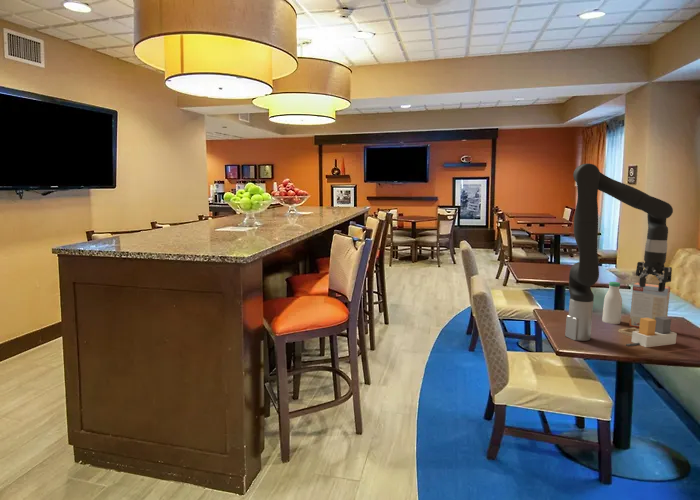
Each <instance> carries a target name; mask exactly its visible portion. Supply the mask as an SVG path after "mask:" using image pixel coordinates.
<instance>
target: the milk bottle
mask: <svg viewBox="0 0 700 500" xmlns="http://www.w3.org/2000/svg"><path fill="white" fill-rule="evenodd" d="M608 287H609V288H608V290H607V292H606V293H605V296H604V297H603V298H604V299H603V306H602V307H603V308H602V318H601V320H602V322H603V323H606V324H610V325H618V324H620V323H621V320H622V319H621V317H622V309H623V307H622V306H623V298H622V295H621V291H620V288H621V282H617V281H610V282H608Z"/></svg>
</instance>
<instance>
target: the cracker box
mask: <svg viewBox="0 0 700 500" xmlns="http://www.w3.org/2000/svg"><path fill="white" fill-rule="evenodd" d="M639 283H640V282H634V283H633V284H632V292H631V293H632V294H631V301H630V304H631V305H630V315H629V325H628V326H629V327H632V328H637V329H639V326H640V318H651V319H654V320H655V317H661V316H663V317H666V318H668V315H669V313H668V312H669V304H670V295H671V294H670V292H671V286H667V285H665V290H664V291H663V292H659V291H658V287H659V284H650V283H646V284H645V287H640V285H639Z"/></svg>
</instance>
